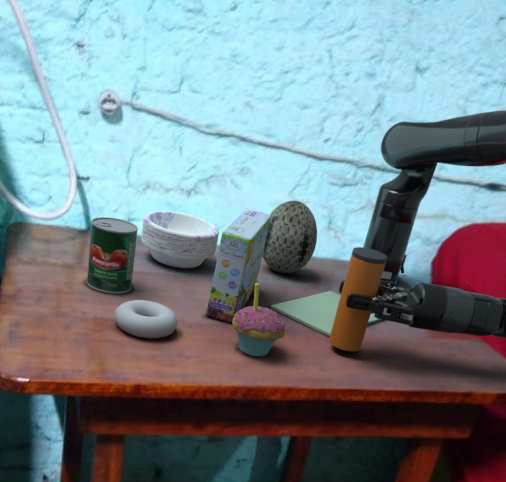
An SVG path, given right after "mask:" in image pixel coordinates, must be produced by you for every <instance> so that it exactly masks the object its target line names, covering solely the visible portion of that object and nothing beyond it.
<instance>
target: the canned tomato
mask: <svg viewBox="0 0 506 482" xmlns="http://www.w3.org/2000/svg"><path fill="white" fill-rule="evenodd" d="M90 223H91V225H90V236H89V239H90V240H89V249H88V252H89V253H88V263H87V275H86V276H87V277H86V285H87V286H88V287H89V288H90V289H93V290H95V291H97V292H101V293H105V294H112V295H122V294H128V293H129V292H130V291H131V290H132V283H133V276H134V275H133V274H134V266H135V255H136V249H137V247H136V246H137V238H138V230H139V227H138V226H137V225H136V224H135V223H132V222H130V221H128V220H125V219H121V218H116V217H107V216H106V217H104V216H103V217H102V216H101V217H94V218H92V219H91V221H90Z"/></svg>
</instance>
